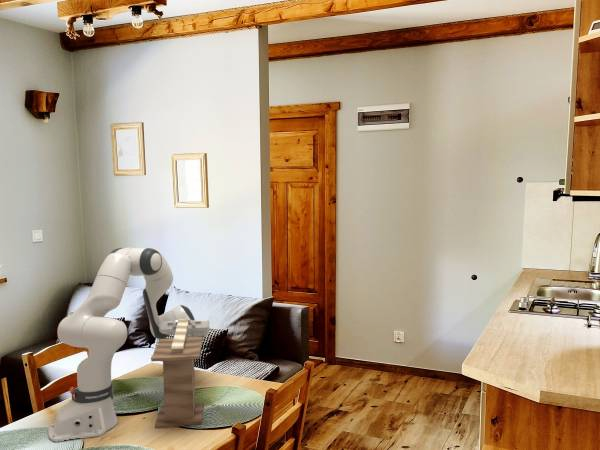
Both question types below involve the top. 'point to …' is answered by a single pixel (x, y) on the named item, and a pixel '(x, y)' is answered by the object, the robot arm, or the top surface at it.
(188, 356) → the walnut stand
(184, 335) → the birch slat
